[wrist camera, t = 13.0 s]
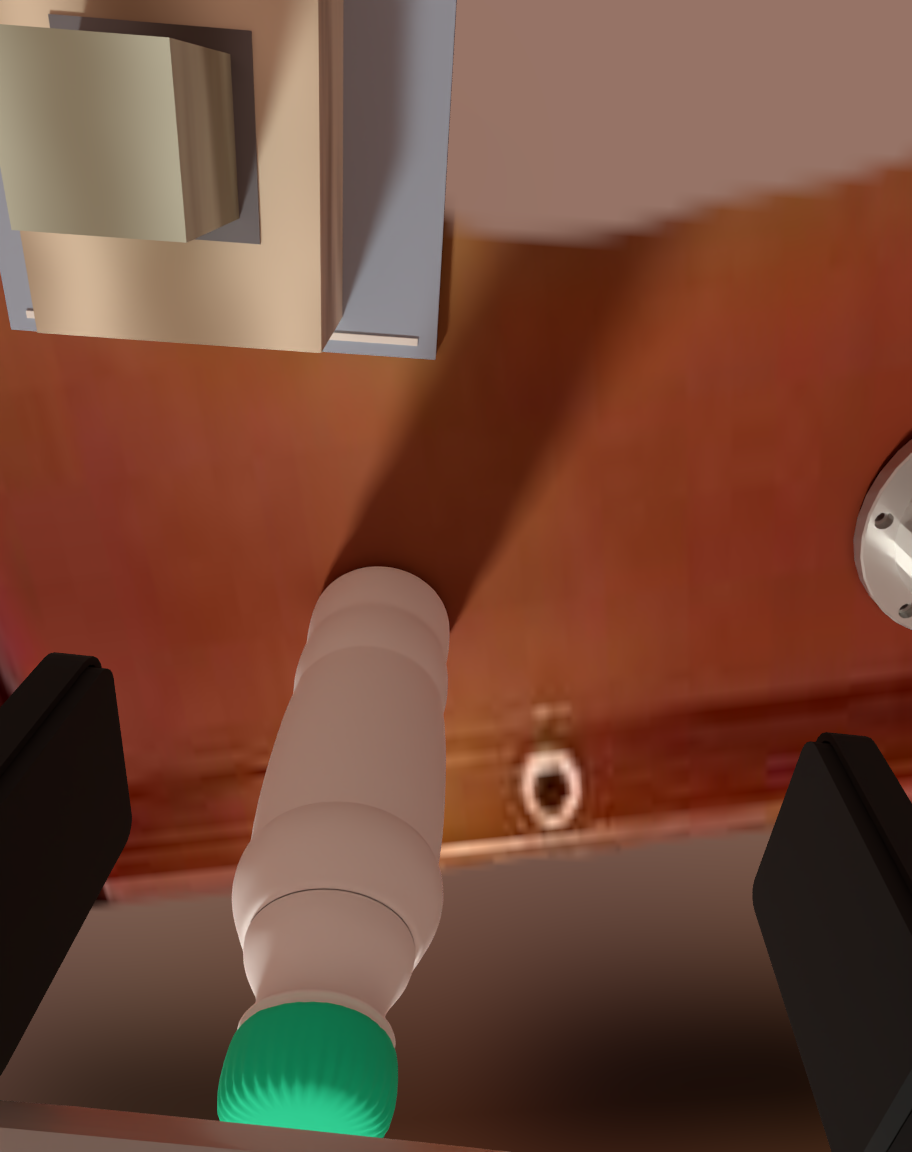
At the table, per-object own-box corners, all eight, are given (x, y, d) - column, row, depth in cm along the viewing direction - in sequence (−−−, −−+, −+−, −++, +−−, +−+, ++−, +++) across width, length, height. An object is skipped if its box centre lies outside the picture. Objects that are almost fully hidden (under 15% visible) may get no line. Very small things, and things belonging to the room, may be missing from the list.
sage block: (230, 54, 25) (168, 37, 20) (239, 218, 27) (186, 242, 22) (76, 42, 25) (-26, 22, 20) (98, 207, 27) (11, 229, 22)
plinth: (343, -70, 28) (316, -113, 23) (342, 317, 35) (320, 353, 29) (49, -96, 28) (-47, -145, 23) (101, 299, 34) (35, 333, 29)
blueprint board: (462, -109, 29) (462, -116, 28) (436, 353, 36) (435, 360, 36) (-64, -155, 28) (-83, -164, 27) (22, 324, 36) (10, 329, 35)
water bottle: (313, 556, 41) (147, 1047, 20) (454, 564, 42) (446, 1060, 20) (315, 671, 45) (176, 1199, 23) (445, 678, 45) (430, 1209, 23)
